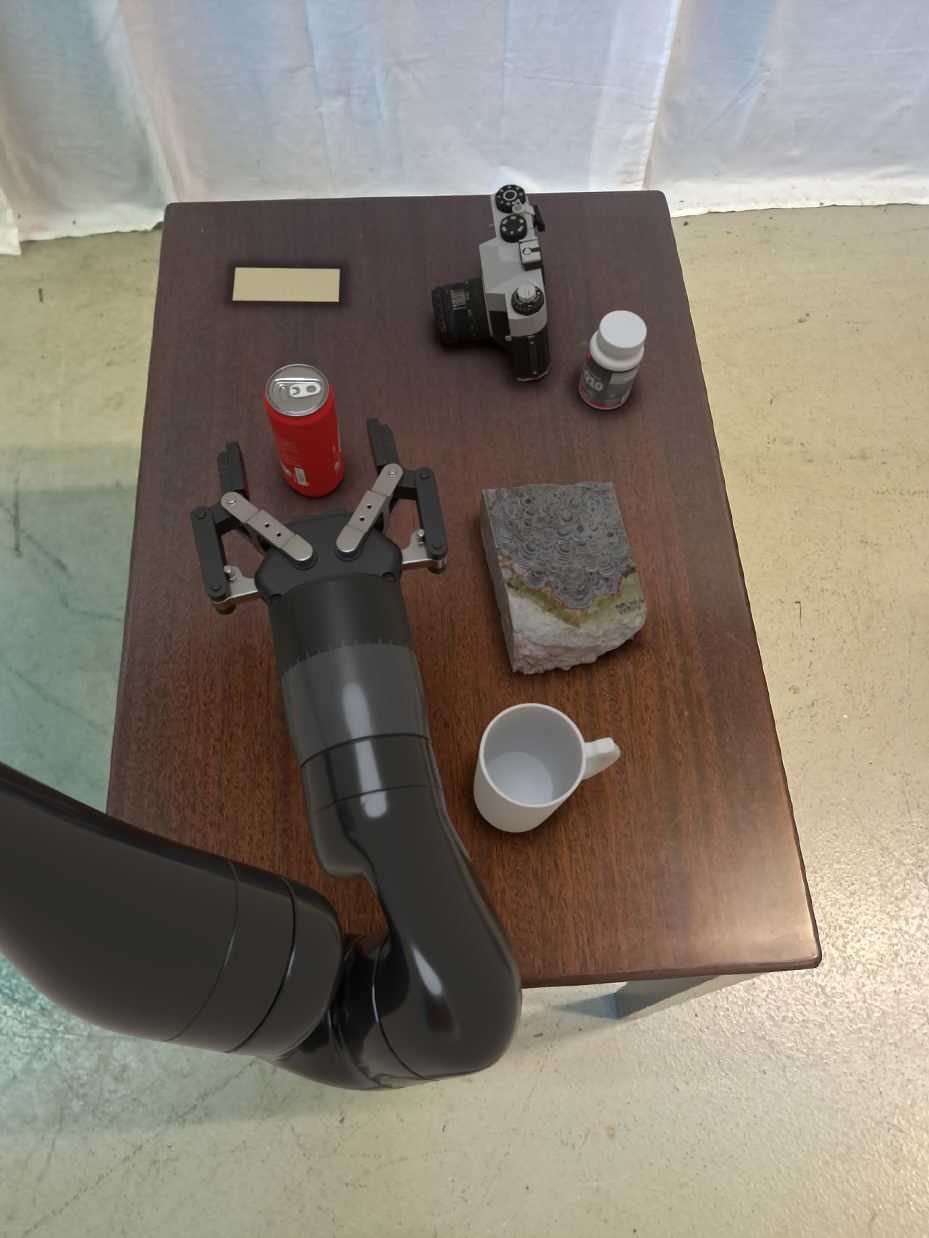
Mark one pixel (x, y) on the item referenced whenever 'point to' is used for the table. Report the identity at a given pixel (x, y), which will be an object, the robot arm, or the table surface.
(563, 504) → the geological specimen
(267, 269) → the strip
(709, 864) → the table surface
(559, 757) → the mug
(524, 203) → the camera
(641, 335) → the pill bottle
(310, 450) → the beverage can
